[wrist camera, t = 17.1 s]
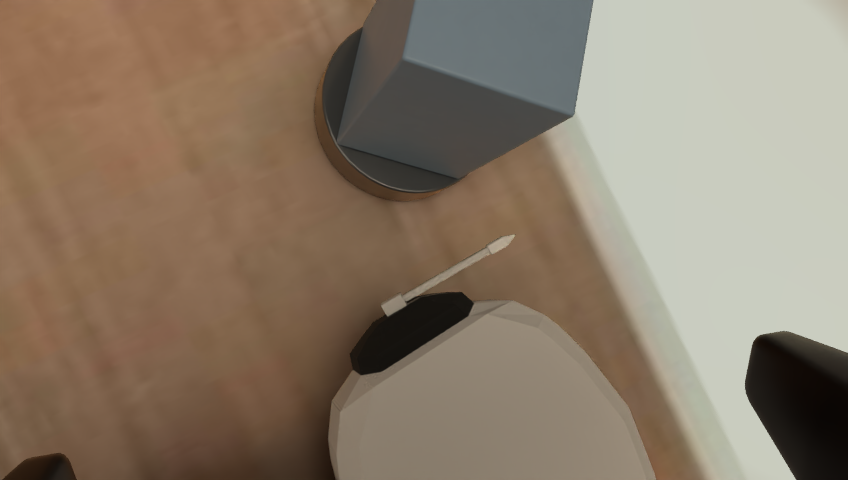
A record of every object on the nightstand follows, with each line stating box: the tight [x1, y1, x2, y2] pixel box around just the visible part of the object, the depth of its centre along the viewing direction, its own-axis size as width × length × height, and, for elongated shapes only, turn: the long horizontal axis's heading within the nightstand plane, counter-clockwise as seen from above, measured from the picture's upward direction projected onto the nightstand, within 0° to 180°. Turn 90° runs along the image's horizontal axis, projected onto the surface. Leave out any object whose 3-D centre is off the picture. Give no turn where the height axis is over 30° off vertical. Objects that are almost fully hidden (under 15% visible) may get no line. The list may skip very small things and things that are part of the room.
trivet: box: [314, 27, 469, 201], centre depth 22 cm, size 6×6×2 cm
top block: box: [337, 0, 593, 179], centre depth 18 cm, size 4×4×7 cm
